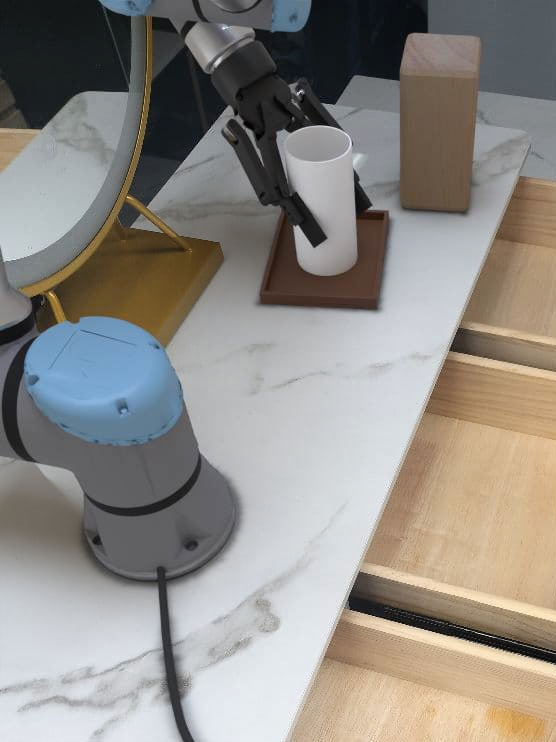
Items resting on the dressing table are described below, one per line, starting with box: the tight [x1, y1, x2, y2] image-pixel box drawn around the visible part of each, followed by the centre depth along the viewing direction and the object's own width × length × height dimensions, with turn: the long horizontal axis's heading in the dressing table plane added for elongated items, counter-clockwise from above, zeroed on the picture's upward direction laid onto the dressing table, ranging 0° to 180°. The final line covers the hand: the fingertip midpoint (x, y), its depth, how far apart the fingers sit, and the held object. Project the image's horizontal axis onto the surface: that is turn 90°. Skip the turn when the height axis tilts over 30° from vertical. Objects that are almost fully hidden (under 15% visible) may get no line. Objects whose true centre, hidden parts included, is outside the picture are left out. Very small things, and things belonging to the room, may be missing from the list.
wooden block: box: [399, 32, 483, 212], centre depth 112 cm, size 10×10×20 cm
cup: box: [283, 126, 358, 276], centre depth 105 cm, size 8×8×16 cm
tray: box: [259, 208, 390, 310], centre depth 111 cm, size 19×15×2 cm
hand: (343, 226), depth 105 cm, fingers closed on cup, 8 cm apart
